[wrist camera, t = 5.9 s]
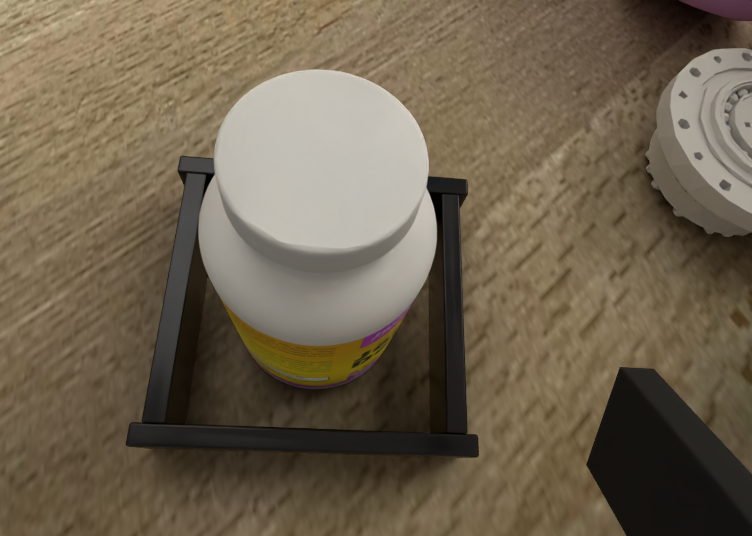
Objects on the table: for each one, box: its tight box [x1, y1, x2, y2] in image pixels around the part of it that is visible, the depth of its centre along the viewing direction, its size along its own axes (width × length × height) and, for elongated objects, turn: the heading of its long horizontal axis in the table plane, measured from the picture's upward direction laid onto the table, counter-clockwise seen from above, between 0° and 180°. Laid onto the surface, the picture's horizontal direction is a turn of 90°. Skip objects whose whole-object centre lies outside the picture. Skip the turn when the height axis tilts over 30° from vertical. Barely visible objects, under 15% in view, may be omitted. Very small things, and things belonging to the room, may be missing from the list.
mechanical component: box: [645, 48, 752, 237], centre depth 26 cm, size 10×4×10 cm
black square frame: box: [126, 156, 479, 458], centre depth 22 cm, size 12×12×3 cm
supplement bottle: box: [198, 69, 437, 389], centre depth 17 cm, size 7×7×13 cm
